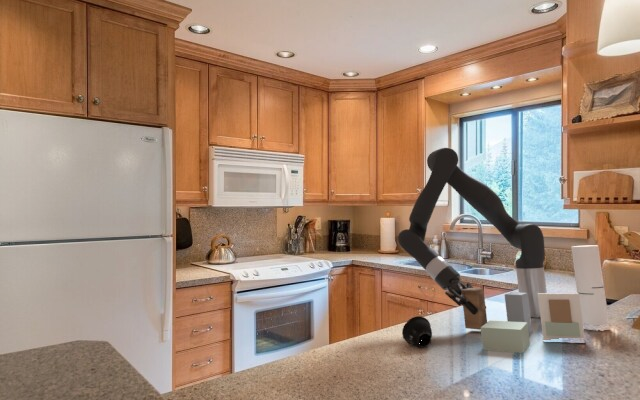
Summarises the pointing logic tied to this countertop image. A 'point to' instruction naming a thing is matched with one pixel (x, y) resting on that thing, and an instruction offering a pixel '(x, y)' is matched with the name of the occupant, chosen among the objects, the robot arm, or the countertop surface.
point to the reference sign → (560, 315)
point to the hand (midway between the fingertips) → (480, 311)
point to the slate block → (518, 308)
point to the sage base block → (505, 336)
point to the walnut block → (479, 302)
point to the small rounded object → (417, 331)
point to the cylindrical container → (590, 284)
